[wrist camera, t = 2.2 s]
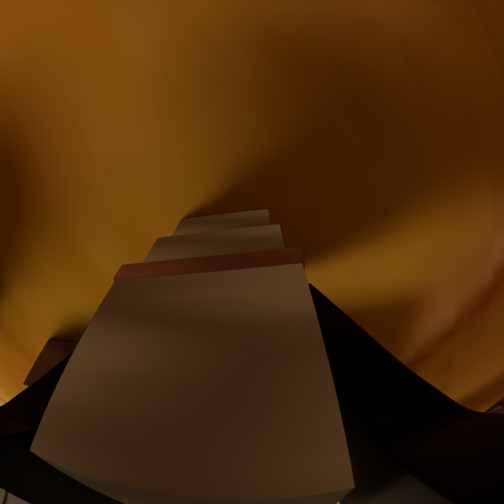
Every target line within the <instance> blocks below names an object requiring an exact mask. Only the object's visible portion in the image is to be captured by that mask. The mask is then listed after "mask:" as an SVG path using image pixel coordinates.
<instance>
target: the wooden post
mask: <svg viewBox="0 0 504 504" xmlns="http://www.w3.org/2000/svg"><path fill="white" fill-rule="evenodd" d="M113 279H114V281H115V282H114V284H113V285H112V287H111V288H110V290H109V291H108V293H107V295H106V296H105V298H104V300H103V301H102V303H101V305H100V306H99V308H98V309H97V311H96V313H95V315H94V316H93V318H92V320H91V321H90V323H89V325H88V327H87V328H86V330H85V332H84V334H83V336H82V337H81V339H80V341H79V343H78V345H77V346H76V348H75V350H74V352H73V354H72V356H71V358H70V360H69V362H68V364H67V366H66V368H65V370H64V372H63V374H62V376H61V378H60V380H59V382H58V384H57V386H56V388H55V390H54V392H53V395H52V397H51V399H50V401H49V403H48V406H47V408H46V410H45V413H44V415H43V417H42V420H41V422H40V425H39V427H38V430H37V432H36V435H35V437H34V440H33V443H32V445H31V448H30V451H31V452H33V453H34V454H36V455H37V456H38V457H40V458H41V459H43V460H44V461H46V462H47V463H49V464H50V465H52V466H53V467H55V468H57V469H58V470H60V471H61V472H63V473H65V474H66V475H68V476H70V477H72V478H73V479H75V480H77V481H79V482H81V483H82V484H84V485H86V486H88V487H90V488H92V489H94V490H96V491H98V492H100V493H102V494H104V495H106V496H108V497H111V498H113V499H115V500H117V501H120V502H122V503H125V504H336V503H338V502H339V501H340V500H341V499H342V498H343V497H345V496H346V495H347V494H348V493H349V492H350V491H351V490H352V489H354V488H355V485H354V480H353V474H352V468H351V463H350V458H349V452H348V447H347V442H346V437H345V432H344V427H343V423H342V418H341V413H340V409H339V404H338V400H337V395H336V391H335V387H334V382H333V378H332V374H331V370H330V365H329V361H328V357H327V353H326V349H325V345H324V341H323V337H322V334H321V330H320V326H319V322H318V318H317V315H316V311H315V307H314V303H313V300H312V296H311V293H310V289H309V285H308V282H307V278H306V275H305V263H304V258H303V255H302V251H301V248H300V247H293V248H285V246H284V242H283V237H282V233H281V228H280V224H277V225H270V218H269V212H268V209H262V210H252V211H243V212H234V213H226V214H217V215H209V216H201V217H193V218H186V219H181V221H180V222H179V224H178V226H177V228H176V229H175V231H174V233H173V235H172V236H170V237H162V238H158V239H157V240H156V242H155V244H154V245H153V247H152V248H151V250H150V252H149V253H148V255H147V257H146V258H145V260H144V262H143V263H135V264H125V265H122V266H121V268H120V269H119V271H118V272H117V274H116V275H115V277H114V278H113Z"/></svg>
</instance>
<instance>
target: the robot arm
mask: <svg viewBox="0 0 504 504" xmlns="http://www.w3.org/2000/svg"><path fill="white" fill-rule="evenodd" d="M308 285H309V289H310V293H311V296H312V300H313V303H314V307H315V311H316V315H317V318H318V322H319V326H320V330H321V334H322V337H323V341H324V345H325V349H326V353H327V357H328V361H329V365H330V370H331V374H332V378H333V382H334V387H335V391H336V395H337V400H338V404H339V409H340V413H341V418H342V423H343V427H344V432H345V437H346V442H347V447H348V452H349V458H350V463H351V468H352V474H353V480H354V485H355V488H354V489H352V490H351V491H350V492H349V493H348V494H347V495H346V496H345V497H343V498H342V499H341V500H340V501H339V503H340V504H504V414H502V413H484V412H477V411H473V410H470V409H468V408H466V407H464V406H462V405H460V404H458V403H457V402H455V401H454V400H452V399H451V398H449V397H448V396H447V395H445V394H444V393H442V392H441V391H439V390H438V389H437V388H435V387H434V386H432V385H431V384H429V383H428V382H427V381H425V380H424V379H422V378H421V377H420V376H418V375H417V374H416V373H414V372H413V371H411V370H410V369H409V368H407V367H406V366H405V365H404V364H403V363H401V362H400V361H399V360H398V359H397V358H395V357H394V356H393V355H392V354H391V353H390V352H389V351H387V350H386V349H385V348H383V346H382V345H381V344H379V343H378V342H377V341H376V340H375V339H374V338H373V337H371V336H370V335H369V334H368V333H367V332H366V331H365V330H364V329H362V328H361V327H360V326H359V325H358V324H357V323H356V322H354V321H353V320H352V319H351V318H350V317H349V316H348V315H346V314H345V313H344V312H343V311H342V310H341V309H340V308H338V307H337V306H336V305H335V304H334V303H333V302H331V301H330V300H329V299H328V298H327V297H326V296H325V295H323V294H322V293H321V292H320V291H319V290H318V289H316V288H315V287H314V286H313V285H312V284H310V283H308ZM73 352H74V350H73V351H72V352H71V353H70V354H69V355H67V356H66V357H65V358H64V360H61V361H60V362H59V363H58V364H57V365H56V366H54V367H53V368H52V369H51V370H50V371H48V372H47V373H46V374H45V375H43V376H42V377H41V378H39V379H38V380H37V381H36V382H34V383H33V384H32V385H30V386H29V387H27V388H26V389H25V390H23V391H22V392H21V393H19V394H18V395H17V396H15V397H14V398H13V399H11V400H10V401H9V402H7V403H6V404H4V405H2V406H0V504H125V503H122V502H120V501H117V500H115V499H113V498H111V497H108V496H106V495H104V494H102V493H100V492H98V491H96V490H94V489H92V488H90V487H88V486H86V485H84V484H82V483H81V482H79V481H77V480H75V479H73V478H72V477H70V476H68V475H66V474H65V473H63V472H61V471H60V470H58V469H57V468H55V467H53V466H52V465H50V464H49V463H47V462H46V461H44V460H43V459H41V458H40V457H38V456H37V455H36V454H34V453H33V452H31V451H30V448H31V445H32V443H33V440H34V437H35V435H36V432H37V430H38V427H39V425H40V422H41V420H42V417H43V415H44V413H45V410H46V408H47V406H48V403H49V401H50V399H51V397H52V395H53V392H54V390H55V388H56V386H57V384H58V382H59V380H60V378H61V376H62V374H63V372H64V370H65V368H66V366H67V364H68V362H69V360H70V358H71V356H72V354H73Z"/></svg>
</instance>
